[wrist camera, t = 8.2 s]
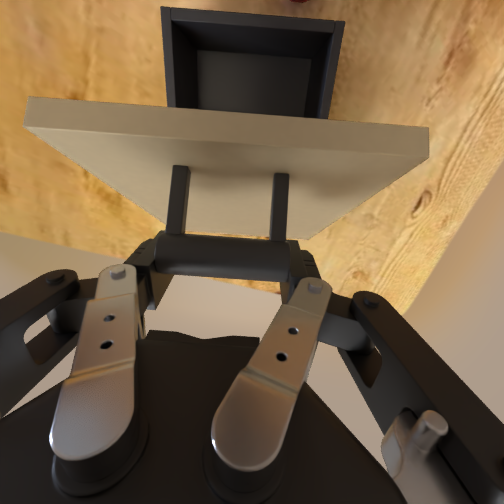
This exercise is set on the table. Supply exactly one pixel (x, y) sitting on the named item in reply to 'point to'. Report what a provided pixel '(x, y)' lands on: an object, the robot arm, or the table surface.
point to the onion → (299, 1)
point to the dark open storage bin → (250, 62)
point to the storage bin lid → (229, 175)
